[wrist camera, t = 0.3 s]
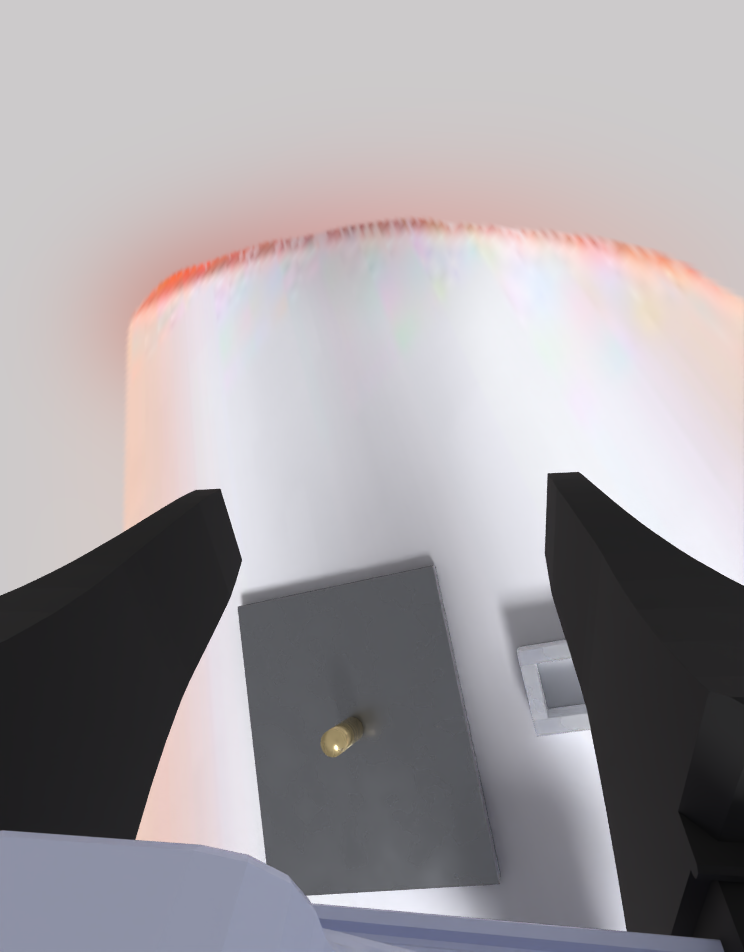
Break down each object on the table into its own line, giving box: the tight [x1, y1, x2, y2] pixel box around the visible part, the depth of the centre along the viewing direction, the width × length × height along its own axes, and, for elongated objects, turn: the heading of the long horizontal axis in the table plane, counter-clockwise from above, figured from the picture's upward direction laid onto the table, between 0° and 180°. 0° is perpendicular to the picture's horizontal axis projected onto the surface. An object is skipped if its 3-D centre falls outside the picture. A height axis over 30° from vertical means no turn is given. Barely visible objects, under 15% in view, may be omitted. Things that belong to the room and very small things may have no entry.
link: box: [517, 639, 591, 736], centre depth 34 cm, size 9×5×3 cm, turn 101°
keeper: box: [238, 566, 501, 896], centre depth 37 cm, size 20×16×5 cm
